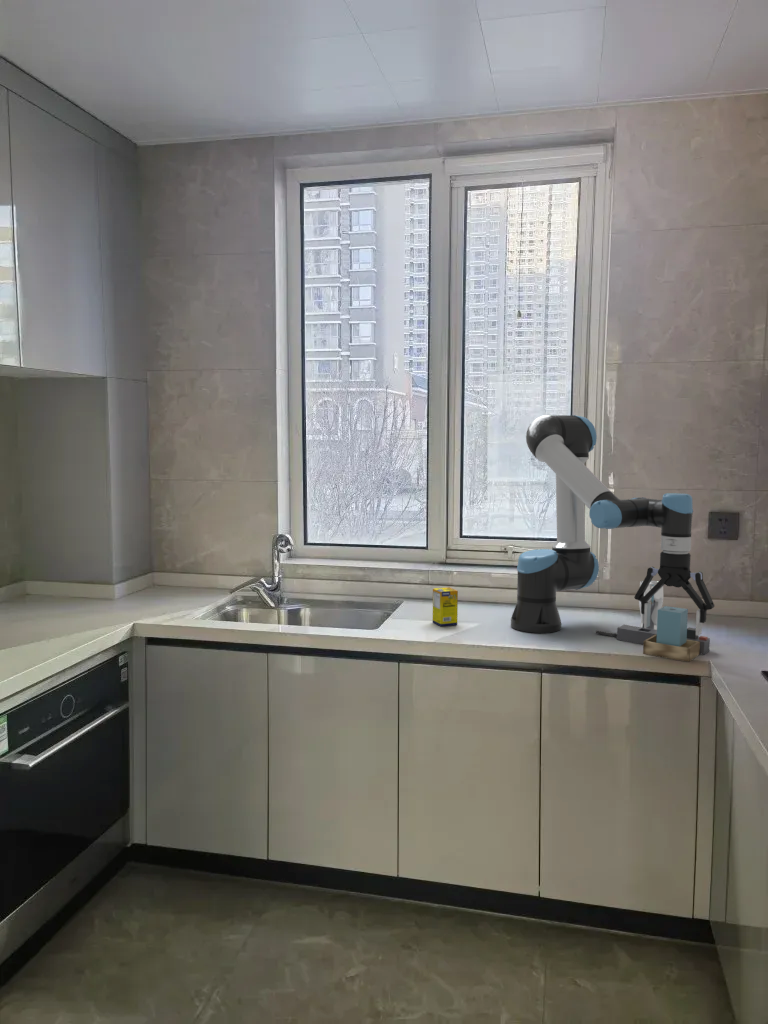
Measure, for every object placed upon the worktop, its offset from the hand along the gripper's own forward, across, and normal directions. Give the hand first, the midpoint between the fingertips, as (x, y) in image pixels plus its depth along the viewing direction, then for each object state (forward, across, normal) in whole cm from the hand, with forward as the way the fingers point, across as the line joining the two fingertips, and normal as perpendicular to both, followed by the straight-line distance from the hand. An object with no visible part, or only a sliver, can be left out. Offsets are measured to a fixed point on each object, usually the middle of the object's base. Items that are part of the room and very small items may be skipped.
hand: (672, 630), depth 205 cm
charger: (+6, 0, 0) cm, 6 cm away
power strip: (+7, -9, +8) cm, 13 cm away
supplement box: (+7, -66, -10) cm, 67 cm away
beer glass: (+7, -13, +20) cm, 25 cm away
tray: (+7, 0, 0) cm, 7 cm away
